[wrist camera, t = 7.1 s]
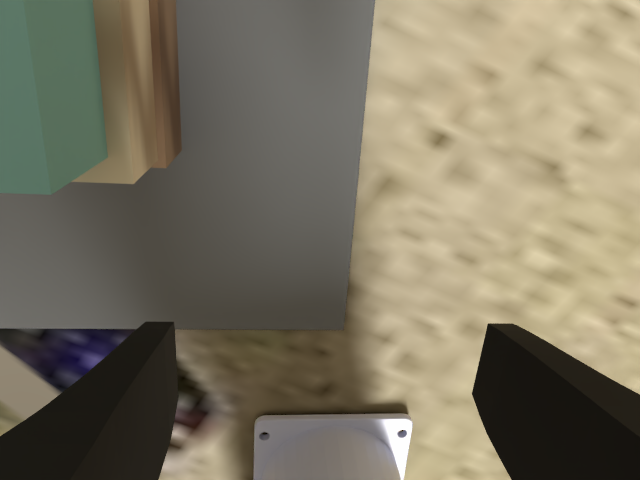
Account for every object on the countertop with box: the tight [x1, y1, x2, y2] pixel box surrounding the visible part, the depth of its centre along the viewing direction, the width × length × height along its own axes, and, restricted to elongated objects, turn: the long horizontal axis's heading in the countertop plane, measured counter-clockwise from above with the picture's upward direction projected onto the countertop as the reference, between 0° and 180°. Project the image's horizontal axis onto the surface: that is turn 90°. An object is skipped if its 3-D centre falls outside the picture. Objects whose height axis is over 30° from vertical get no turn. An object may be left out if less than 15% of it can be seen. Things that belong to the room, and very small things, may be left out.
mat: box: [0, 0, 375, 330], centre depth 18 cm, size 18×16×1 cm
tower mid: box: [71, 0, 158, 184], centre depth 13 cm, size 6×6×3 cm
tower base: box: [149, 0, 182, 168], centre depth 16 cm, size 6×6×3 cm
